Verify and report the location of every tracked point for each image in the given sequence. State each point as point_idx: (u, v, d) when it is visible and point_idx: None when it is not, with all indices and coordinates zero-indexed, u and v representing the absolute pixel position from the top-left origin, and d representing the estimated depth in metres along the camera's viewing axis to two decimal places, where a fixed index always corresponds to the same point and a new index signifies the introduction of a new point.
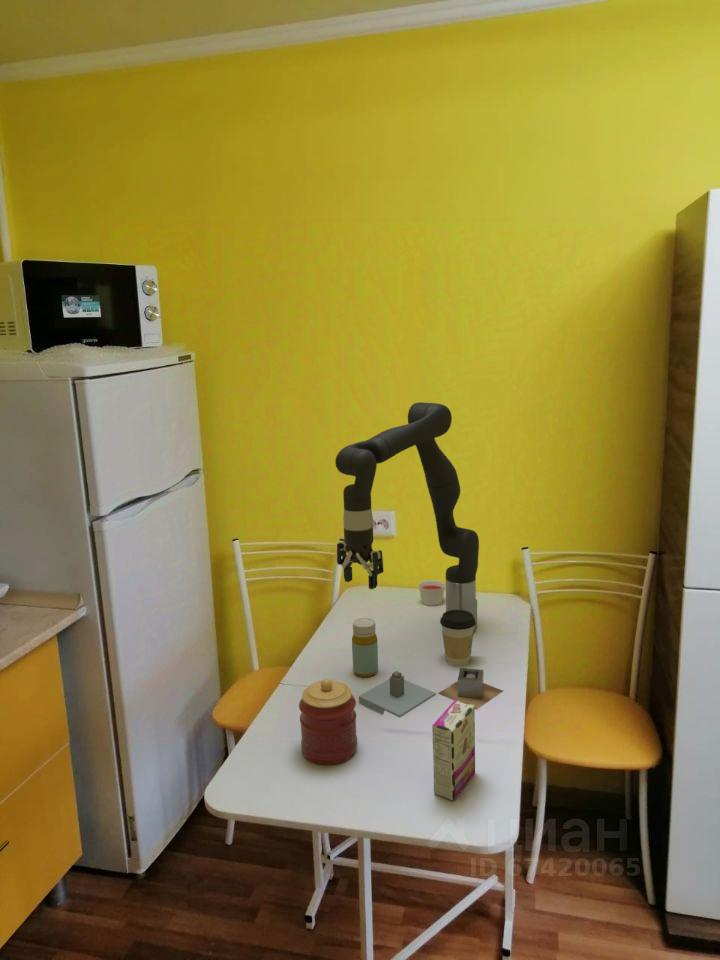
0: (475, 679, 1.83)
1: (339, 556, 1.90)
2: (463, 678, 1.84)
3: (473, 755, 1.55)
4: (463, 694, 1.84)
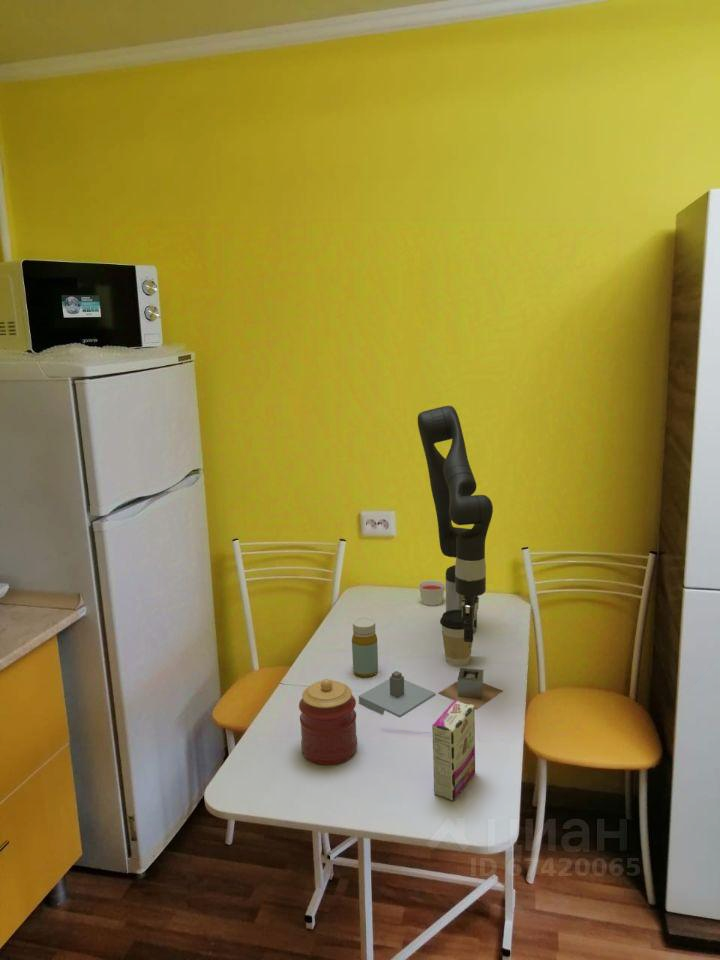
0: (475, 679, 1.83)
1: (472, 619, 1.76)
2: (463, 678, 1.84)
3: (473, 755, 1.55)
4: (463, 694, 1.84)
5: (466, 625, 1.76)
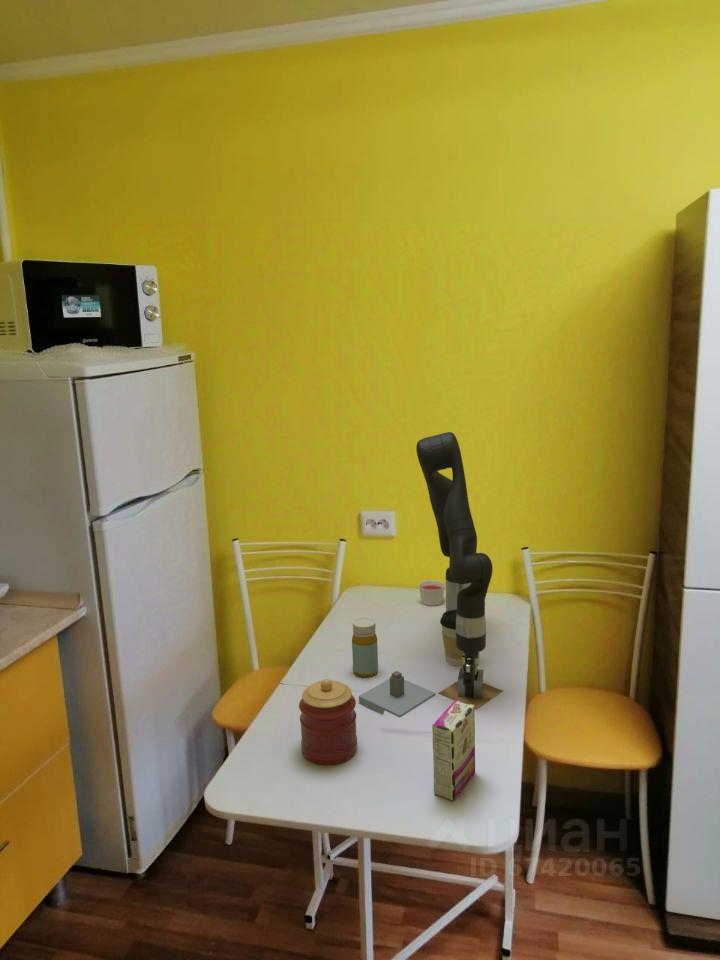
0: (475, 679, 1.83)
1: (473, 676, 1.80)
2: None
3: (473, 755, 1.55)
4: (463, 694, 1.84)
5: (467, 682, 1.80)
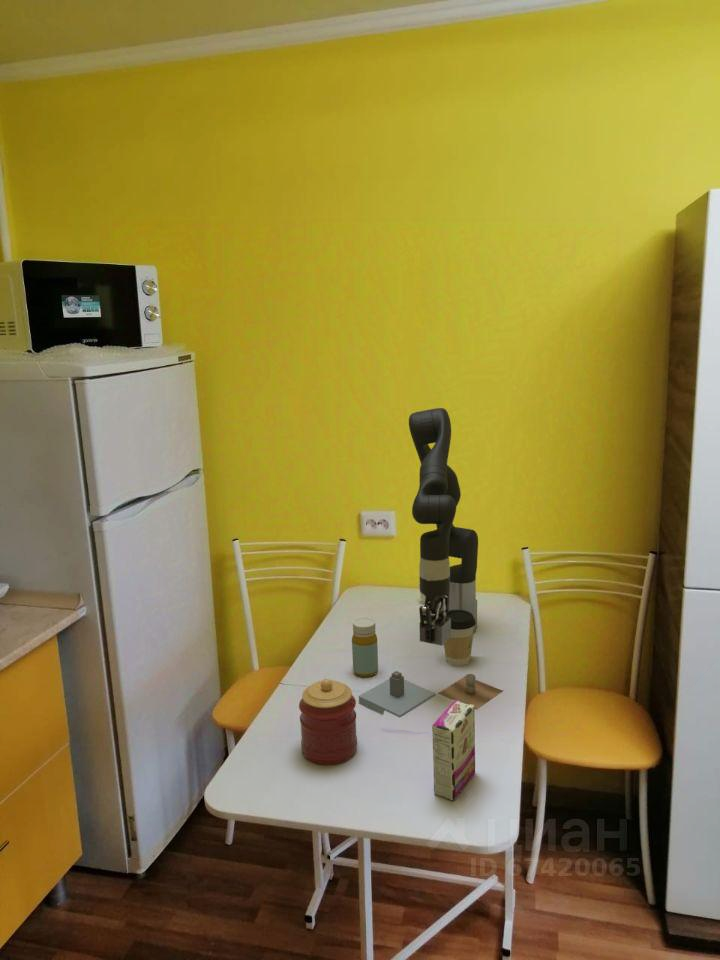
0: (436, 624, 1.79)
1: (430, 620, 1.76)
2: None
3: (473, 755, 1.55)
4: (424, 639, 1.81)
5: (424, 625, 1.76)
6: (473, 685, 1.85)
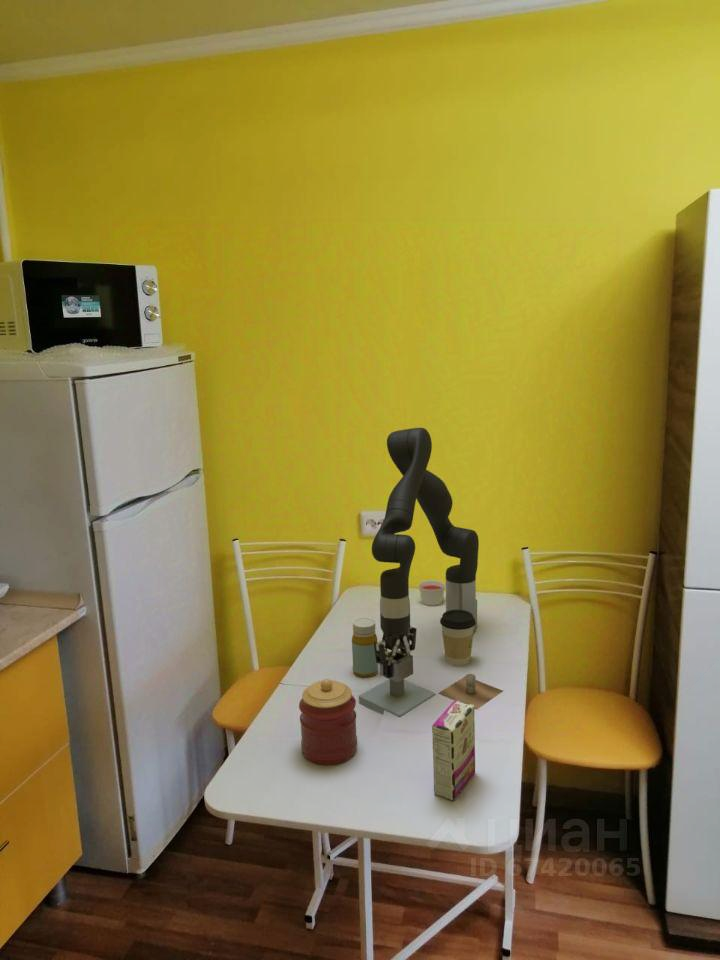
0: (394, 661, 1.81)
1: (384, 656, 1.78)
2: None
3: (473, 755, 1.55)
4: None
5: (379, 660, 1.79)
6: (473, 685, 1.85)
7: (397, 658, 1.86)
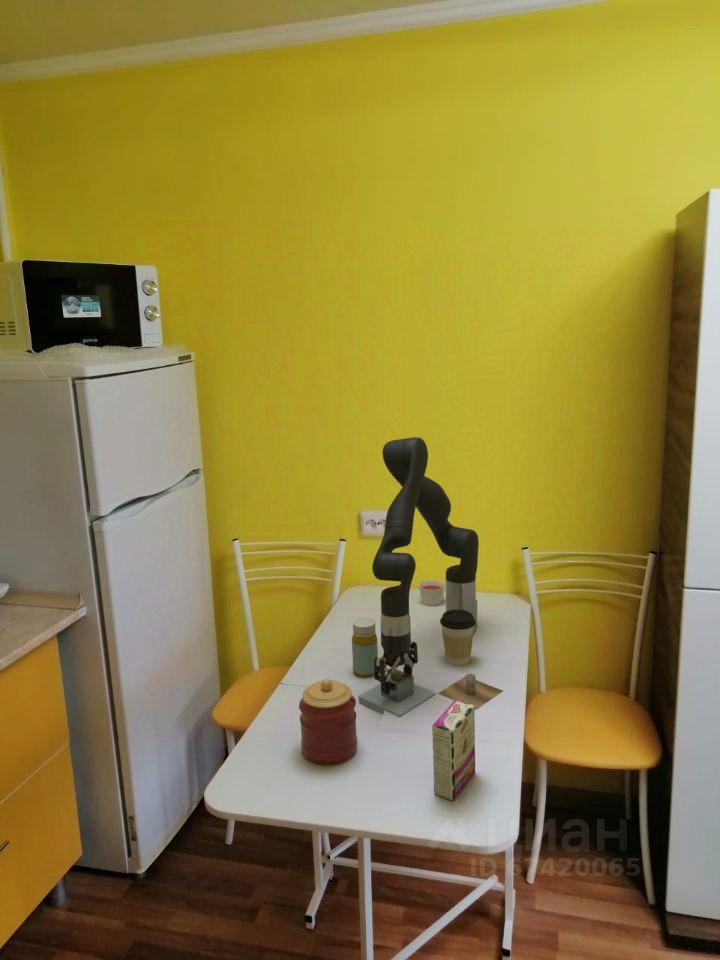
0: (395, 682, 1.82)
1: (383, 673, 1.79)
2: None
3: (473, 755, 1.55)
4: (384, 694, 1.85)
5: (377, 677, 1.80)
6: (473, 685, 1.85)
7: None
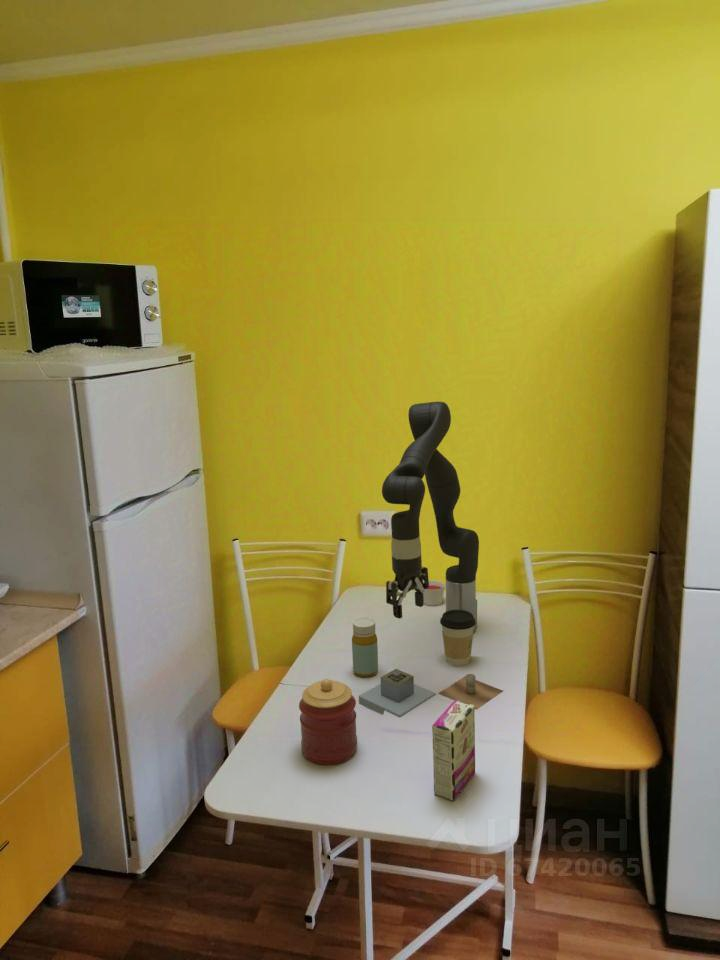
0: (395, 682, 1.82)
1: (395, 596, 1.80)
2: (385, 678, 1.84)
3: (473, 755, 1.55)
4: (384, 694, 1.85)
5: (389, 601, 1.81)
6: (473, 685, 1.85)
7: None
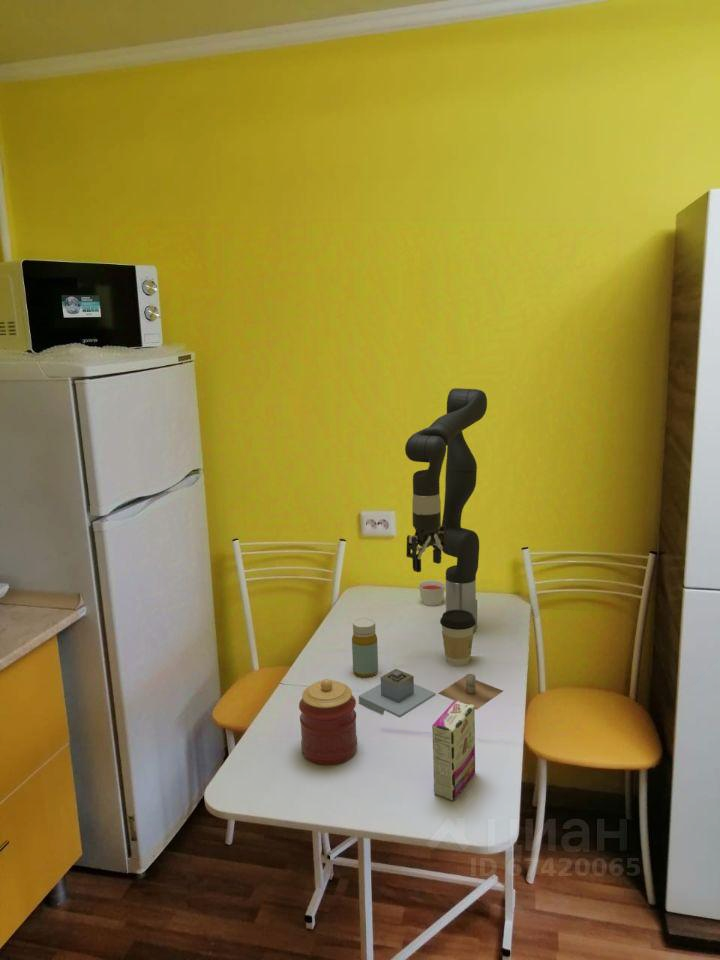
0: (395, 682, 1.82)
1: (415, 549, 1.90)
2: (385, 678, 1.84)
3: (473, 755, 1.55)
4: (384, 694, 1.85)
5: (409, 554, 1.90)
6: (473, 685, 1.85)
7: None
